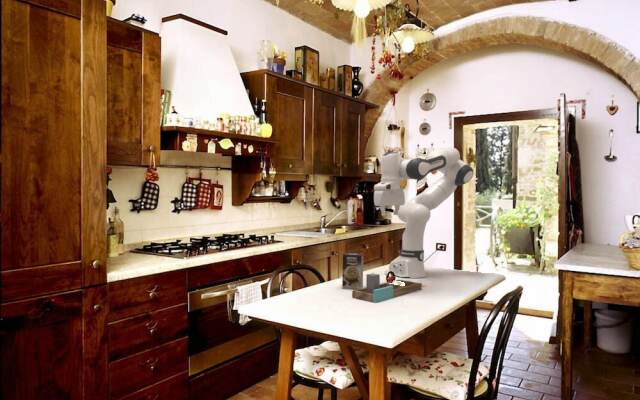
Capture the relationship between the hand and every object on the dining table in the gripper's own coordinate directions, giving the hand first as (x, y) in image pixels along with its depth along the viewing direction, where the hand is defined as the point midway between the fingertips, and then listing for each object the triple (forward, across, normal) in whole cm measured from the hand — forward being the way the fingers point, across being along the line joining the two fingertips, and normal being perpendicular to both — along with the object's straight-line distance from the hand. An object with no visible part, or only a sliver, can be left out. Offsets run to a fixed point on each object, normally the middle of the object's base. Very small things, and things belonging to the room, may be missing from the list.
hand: (389, 215), depth 217 cm
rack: (+34, +12, +8) cm, 37 cm away
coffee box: (+34, +14, -11) cm, 39 cm away
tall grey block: (+34, +23, +8) cm, 42 cm away
